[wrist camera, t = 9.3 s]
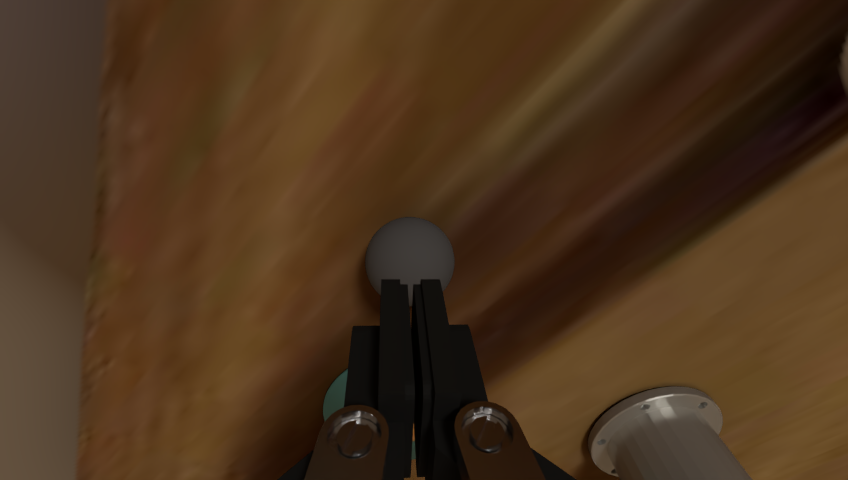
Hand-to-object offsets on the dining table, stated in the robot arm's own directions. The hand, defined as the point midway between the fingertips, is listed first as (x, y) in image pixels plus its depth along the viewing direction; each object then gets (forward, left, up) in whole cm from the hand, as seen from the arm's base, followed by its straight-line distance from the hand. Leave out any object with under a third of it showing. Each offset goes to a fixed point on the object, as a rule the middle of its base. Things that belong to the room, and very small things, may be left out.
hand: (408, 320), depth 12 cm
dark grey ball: (-5, +2, -12) cm, 14 cm away
